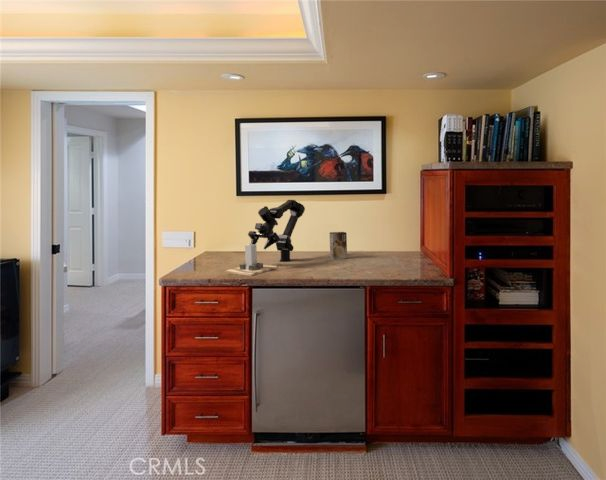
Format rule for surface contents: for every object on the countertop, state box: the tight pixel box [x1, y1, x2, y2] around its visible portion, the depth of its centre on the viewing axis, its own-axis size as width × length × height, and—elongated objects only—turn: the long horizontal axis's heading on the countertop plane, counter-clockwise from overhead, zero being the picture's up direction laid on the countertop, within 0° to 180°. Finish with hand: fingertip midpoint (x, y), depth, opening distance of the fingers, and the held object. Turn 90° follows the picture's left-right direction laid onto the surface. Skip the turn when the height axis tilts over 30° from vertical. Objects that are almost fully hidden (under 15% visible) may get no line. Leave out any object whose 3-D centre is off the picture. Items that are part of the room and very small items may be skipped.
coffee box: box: [329, 231, 348, 260], centre depth 293 cm, size 9×6×16 cm
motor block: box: [244, 243, 258, 270], centre depth 259 cm, size 6×4×14 cm
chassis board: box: [223, 262, 279, 277], centre depth 261 cm, size 24×18×4 cm
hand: (257, 248), depth 264 cm, fingers open, 9 cm apart
